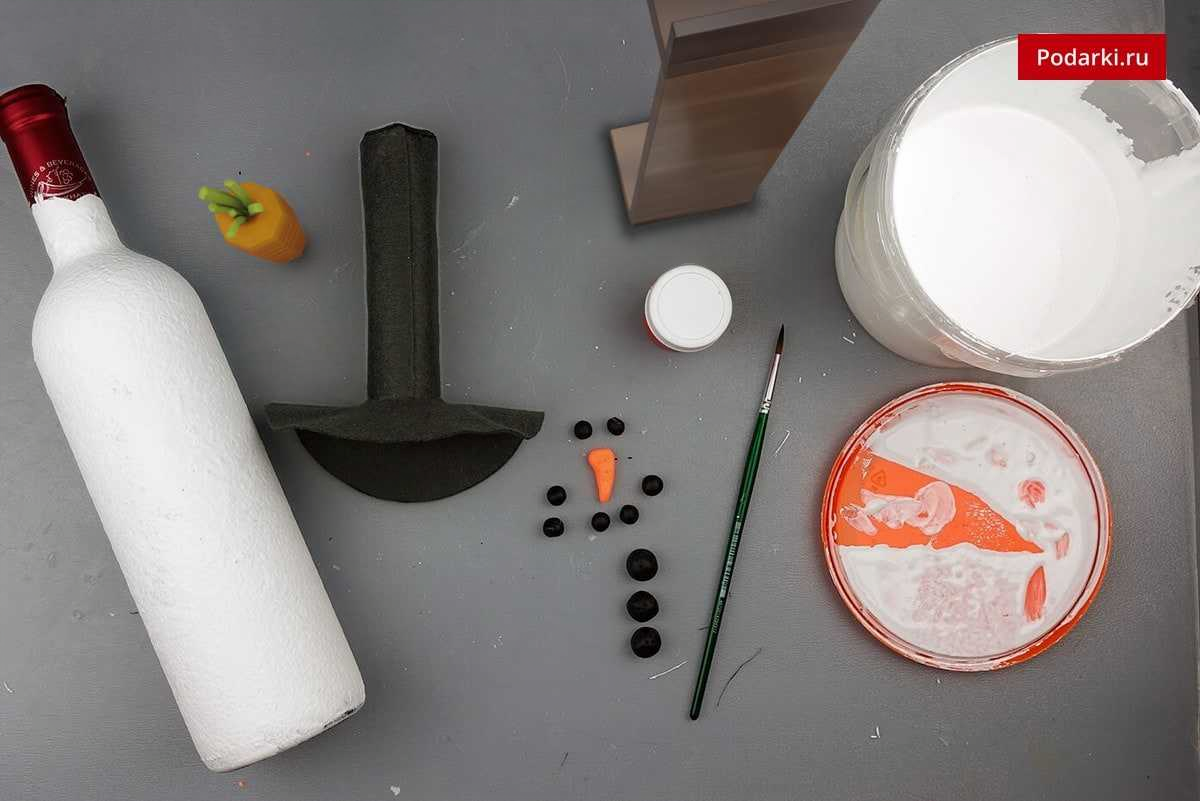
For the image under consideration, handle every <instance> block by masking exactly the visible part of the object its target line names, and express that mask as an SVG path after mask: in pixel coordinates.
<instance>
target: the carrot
mask: <svg viewBox="0 0 1200 801" xmlns="http://www.w3.org/2000/svg"><path fill="white" fill-rule="evenodd" d="M222 185H223V186H224V187H226V188H227V190H222V189H219V188H216V187H211V186H207V185H206V186H205V185H204V186H202V187H201V188H200V189H199V192H198V195H197V196H198V197H199V199H201V200H202V201H205V202H210V203H208V207H207V208H208V210H209V211H210V212H212V213H214V218H215V221H216V223H217V225H218V227H219V229H220V232H221V233H222V236H223V238H224V240H225V243H227V244H228V245H230V246H232V247H234V248H236V249H237V250H239V251H242V252H244V253H245V254H248V255H250V256H253V257H256V258H260V259H263V260H265V261H268V262H270V263H275V264H287V263H289V262H291V261H293V260H295V259H297V258H299V257H302V256H303V252H304V250H305V247H306V244H307V241H308V240H307V239H308V238H307V237H306V234H305V232H304V230H303V227H302V226H301V223H300V221H299V219H298V217H297V215H296V213H295V211H294V209H293V207H292V206H291V205H290V204H289V203H288V201H287V200H286V199H285V198H284V197H283V196H282V195H281V194H280V193H279V192H278V191H276V190H274V189H272V188H270V187H266V186H263V185H261V184H258V183H254V182H252V181H249V180H248V181H245V182H243V183H240V184H239V183H238V182H237V181H235V180H234V179H230V178H229V179H227V180H224V183H223V184H222Z"/></svg>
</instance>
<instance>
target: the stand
mask: <svg viewBox="0 0 1200 801" xmlns="http://www.w3.org/2000/svg"><path fill="white" fill-rule="evenodd" d="M855 41H856V40H853V41H848V42H843V43H838V44H834V45H829V46H824V47H819V48H815V49H810V50H805V51H800V52H796V53H791V54H786V55H781V56H776V57H772V58H767V59H762V60H757V61H753V62H748V63H743V64H738V65H733V66H729V67H724V68H719V69H714V70H710V71H705V72H700V73H695V74H691V75H686V76H681V77H676V78H671V79H667V80H666V79H665V76H664V72H663V68H662V63H660V65H659V66H660V67H659V70H658V71H659V72H658V76H657V80H656V86H655V91H654V95H653V99H652V105H651V108H650V115H649V117H648V118H649V119H648V121H645V122H640V123H635V124H630V125H626V126H622V127H617V128H616V127H615V128H611V129H610V130H609V132H610V133H609V137H610V141H611V142H610V143H611V145H612V151H613V155H614V159H615V164H616V168H617V172H618V176H619V181H620V185H621V189H622V193H623V198H624V202H625V207H626V211H627V216H628V220H629V224H630V227H631V228H636V227H640V226H645V225H649V224H654V223H655V224H656V223H659V222H663V221H668V220H673V219H678V218H682V217H687V216H692V215H696V214H702V213H705V212H711V211H716V210H719V209H723V208H728V207H733V206H737V205H742V204H747V203H750V201H751V200H752V198H753V196H754V195H755V194H756V192H757V190H758V189H759V188H760V186H761V184H762V183H763V182H764V180H765V179H766V177H767V175H768V174H769V172H770V171H771V169H772V168H773V166H774V165H775V163H776V162H777V161H778V159H779V158H780V156H781V154H782V152H783V151H784V149H785V148H786V147H787V145H788V144H789V142H790V140H791V139H792V137H793V136H794V134H795V133H796V131H797V130H798V128H799V126H800V125H801V124H802V122H803V121H804V120H805V118H806V116H807V115H808V113H809V112H810V110H811V108H812V107H813V105H814V104H815V103H816V101H817V100H818V97H819V96H820V95H821V93H822V92H823V90H824V89H825V88H826V86H827V84H828V83H829V81H830V80H831V78H832V77H833V75H834V74H835V72H836V71H837V69H838V67H839V66H840V65H841V63H842V61H843V60H844V58H845V57H846V55H847V54H848V53H849V51H850V50H851V48H852V47H853V45H854V43H855Z"/></svg>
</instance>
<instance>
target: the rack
mask: <svg viewBox="0 0 1200 801" xmlns="http://www.w3.org/2000/svg"><path fill="white" fill-rule="evenodd" d="M881 2H882V0H646V4H647V8H648V13H649V16H650V20H651V25H652V29H653V33H654V37H655V43H656V47H657V50H658V55H659V59H660V62H661V63H662V68H663V72H664V76H665V79H666V80H667V79H671V78H676V77H681V76H686V75H691V74H695V73H700V72H705V71H710V70H714V69H719V68H724V67H729V66H733V65H738V64H743V63H748V62H753V61H757V60H762V59H767V58H772V57H776V56H781V55H786V54H791V53H796V52H800V51H805V50H810V49H815V48H819V47H824V46H829V45H834V44H838V43H843V42H848V41H853V40H855V41H856V40H857V39H858V38H859V36H860V35H861V33H862V32H863V30H864V29H865V26H866V25H867V23H868V22H869V21H870V19H871V17H872V16H873V14H874V13H875V11H876V10H877V8H878V7H879V6H880V4H881ZM661 63H660V64H661Z"/></svg>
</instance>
